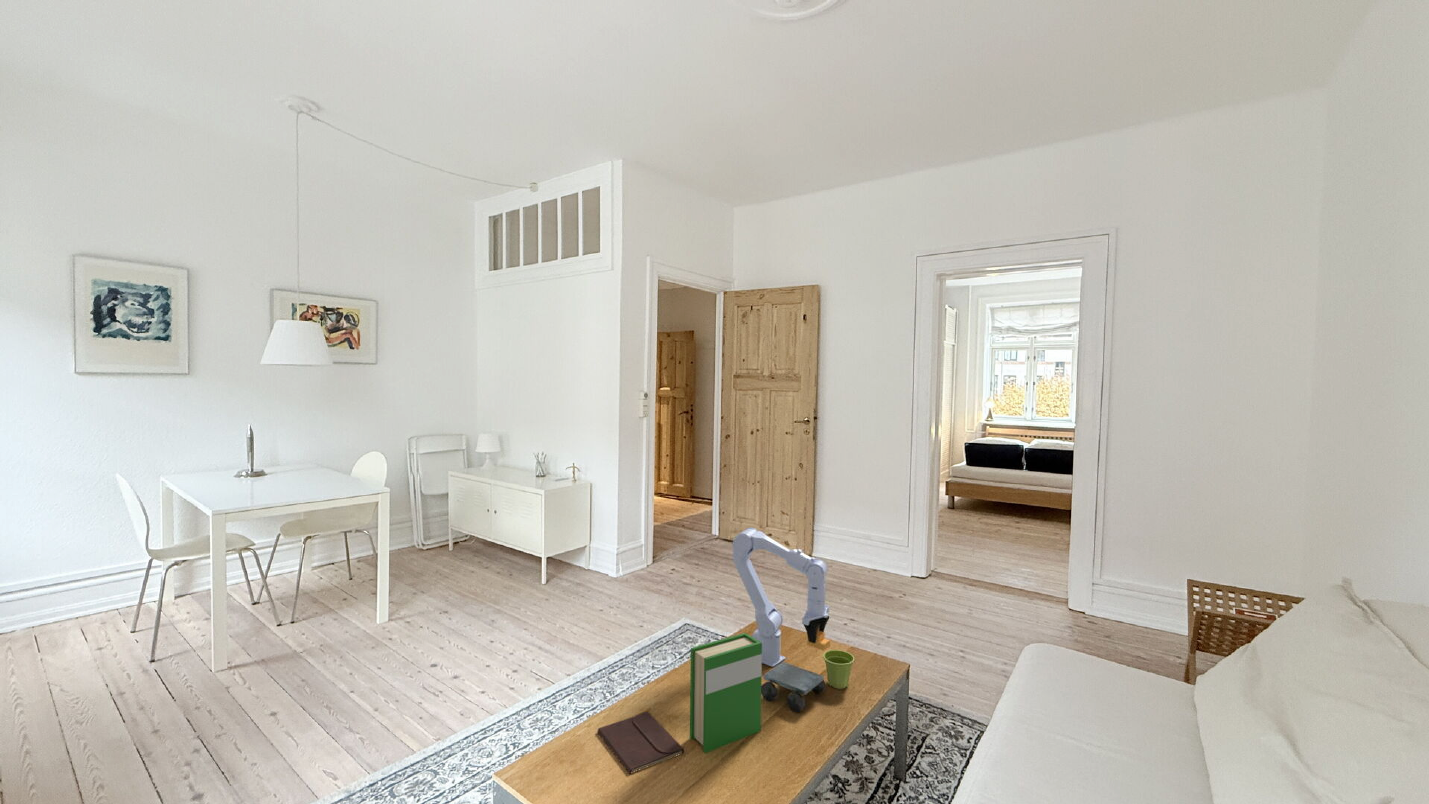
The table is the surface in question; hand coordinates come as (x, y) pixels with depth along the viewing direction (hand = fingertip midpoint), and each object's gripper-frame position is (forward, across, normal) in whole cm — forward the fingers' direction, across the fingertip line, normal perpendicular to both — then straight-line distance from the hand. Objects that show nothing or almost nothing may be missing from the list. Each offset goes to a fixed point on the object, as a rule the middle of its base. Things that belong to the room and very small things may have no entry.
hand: (815, 639), depth 193 cm
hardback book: (+10, -47, +1) cm, 48 cm away
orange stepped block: (+2, 0, -1) cm, 2 cm away
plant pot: (+10, -4, -10) cm, 15 cm away
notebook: (+10, -64, +16) cm, 67 cm away
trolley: (+10, -19, -3) cm, 22 cm away
